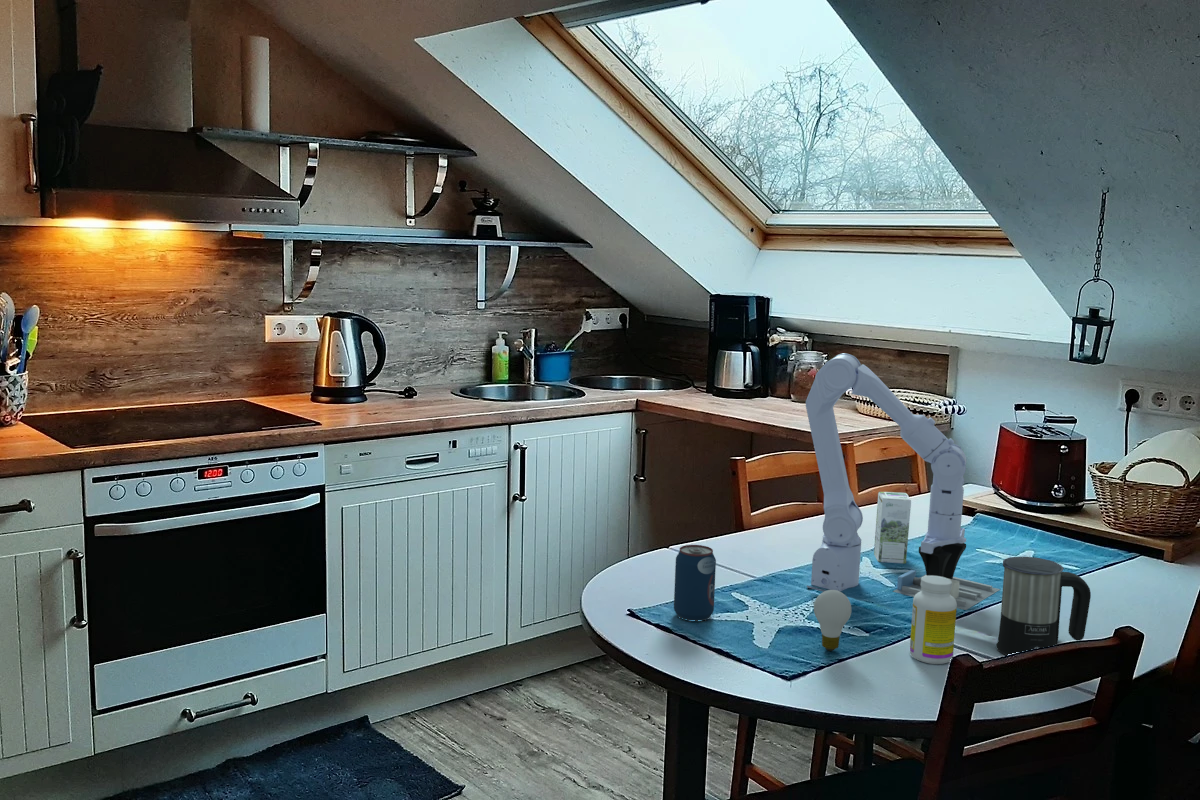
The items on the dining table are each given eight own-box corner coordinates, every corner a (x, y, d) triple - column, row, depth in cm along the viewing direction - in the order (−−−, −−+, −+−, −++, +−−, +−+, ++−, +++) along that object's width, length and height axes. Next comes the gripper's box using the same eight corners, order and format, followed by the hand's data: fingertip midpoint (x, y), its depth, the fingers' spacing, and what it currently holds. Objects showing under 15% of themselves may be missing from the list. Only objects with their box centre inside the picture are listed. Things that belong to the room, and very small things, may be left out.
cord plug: (951, 600, 196) (953, 584, 196) (910, 590, 202) (911, 574, 201) (958, 596, 198) (959, 581, 198) (917, 586, 204) (918, 571, 203)
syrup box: (901, 559, 224) (906, 491, 222) (906, 568, 218) (911, 498, 216) (873, 558, 225) (877, 490, 222) (877, 566, 219) (882, 497, 217)
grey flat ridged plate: (965, 615, 192) (966, 596, 191) (892, 596, 201) (893, 578, 200) (1000, 594, 204) (1001, 576, 203) (929, 577, 213) (930, 560, 212)
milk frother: (1018, 665, 170) (1026, 574, 168) (959, 629, 185) (966, 545, 183) (1094, 658, 174) (1103, 569, 171) (1030, 623, 189) (1038, 541, 186)
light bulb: (843, 643, 177) (847, 585, 175) (852, 657, 171) (856, 597, 169) (807, 643, 177) (811, 584, 175) (815, 657, 171) (819, 596, 169)
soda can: (718, 622, 185) (721, 554, 183) (679, 624, 184) (682, 556, 182) (706, 608, 192) (709, 543, 190) (668, 610, 190) (671, 544, 189)
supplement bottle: (961, 661, 171) (968, 583, 169) (931, 668, 167) (938, 589, 166) (929, 646, 176) (935, 571, 175) (900, 653, 173) (905, 576, 171)
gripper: (949, 523, 189) (944, 597, 191) (982, 508, 200) (976, 579, 202) (912, 515, 194) (906, 588, 196) (946, 501, 204) (940, 570, 207)
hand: (939, 583), depth 199 cm, fingers open, 4 cm apart
